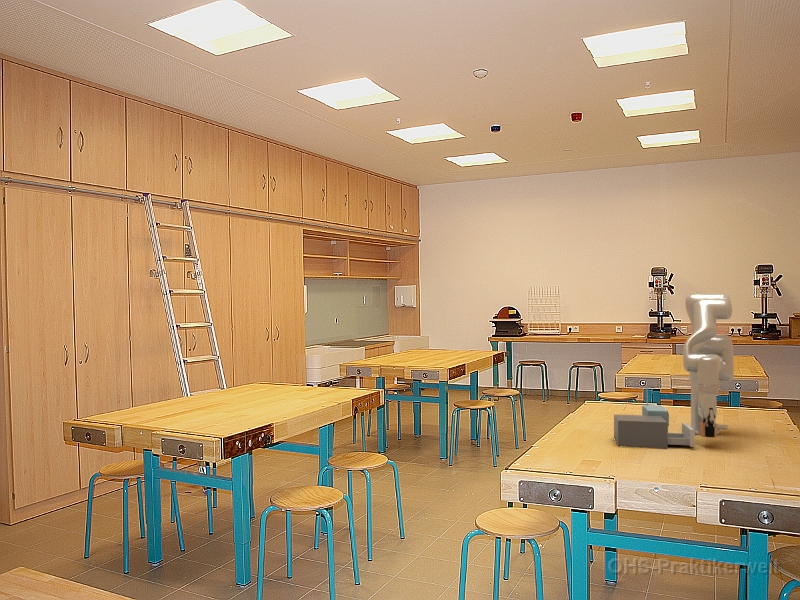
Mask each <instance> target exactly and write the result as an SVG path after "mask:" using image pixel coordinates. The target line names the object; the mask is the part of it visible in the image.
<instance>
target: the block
mask: <svg viewBox="0 0 800 600" xmlns="http://www.w3.org/2000/svg"><path fill="white" fill-rule="evenodd" d="M705 426H706V422H700V435H699V436H701V437H702V438H706V439H707V438H711V439H713V438H714V439H716V438H717V435H716V424H715V423H714V437H706V436H705Z"/></svg>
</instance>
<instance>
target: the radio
mask: <svg viewBox="0 0 800 600" xmlns="http://www.w3.org/2000/svg"><path fill="white" fill-rule="evenodd" d="M648 388H649V387H648V386H646V404H642V405H641V415H643V416H661V417H662V418H663V419H664V420H665V421H666V422H667V433H669V425H670V413H669V411H668V410H667V409H666V408H665V407H664V406H663V405H660V404H659V405H658V404H656V405H655V404H649V400H648V399H649V396H648V393H649V392H648V390H649V389H648Z"/></svg>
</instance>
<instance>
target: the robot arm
mask: <svg viewBox="0 0 800 600" xmlns="http://www.w3.org/2000/svg"><path fill="white" fill-rule="evenodd" d="M684 302H685V310H686V313H687V316H688V318H689V320H690V324H691V335H689V336H688V338H687V339H686V340H685V342H684V345H683V349H682V362H683V369H684V370H685V371H686V372H688V373H689V374H688V375H689V379H690V427H691V428H693V429H694V435H698V436H701V435H700V422H706V426H705V436H706V437H714V423H715V424H716V436H717V435H719V434H720V430H723V431H725V430H726V431H727V430H728V424H719V423H717V422H716V419H717V415H718V413H717V408H718V407H717V406H718V405H717V402H718V401H717V394H719V392H720V383H729V382H731V381H733V379H734V377H735V376H734V375H735V369H734V367H735V366H734V362H735V361H734V346H733V345H734V344H733V341H732V340H733V339H732V338H731V337H730V336H729V335H726V334H717V333H718V329H717V328H718V327H717V320H729V319H731V317H732V315H733V306H732V301H731V298H730V295H728V294H727V293H723V292H722V293H715V292H714V293H712V292H711V293H708V292H707V293H706V292H705V293H703V292H702V293H701V292H699V293H691V294H688V295H687V296H686V298H685V301H684ZM691 349H692V350H691ZM691 351H692V352H693V353H691Z"/></svg>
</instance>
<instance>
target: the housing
mask: <svg viewBox="0 0 800 600" xmlns="http://www.w3.org/2000/svg"><path fill="white" fill-rule="evenodd" d="M614 439H615V440H614ZM613 440H614V441H616V442H615V443H617V444H616V446H617V447H620V446H628V447H627V448H643V447H647V449H648V448H649V449H666V448H667V449H668V444H667V422H666V421H665V420H664V419H663V418H662V417H661V416H643V415H642V414H641V415H640V414H639V415H638V414H613Z"/></svg>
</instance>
